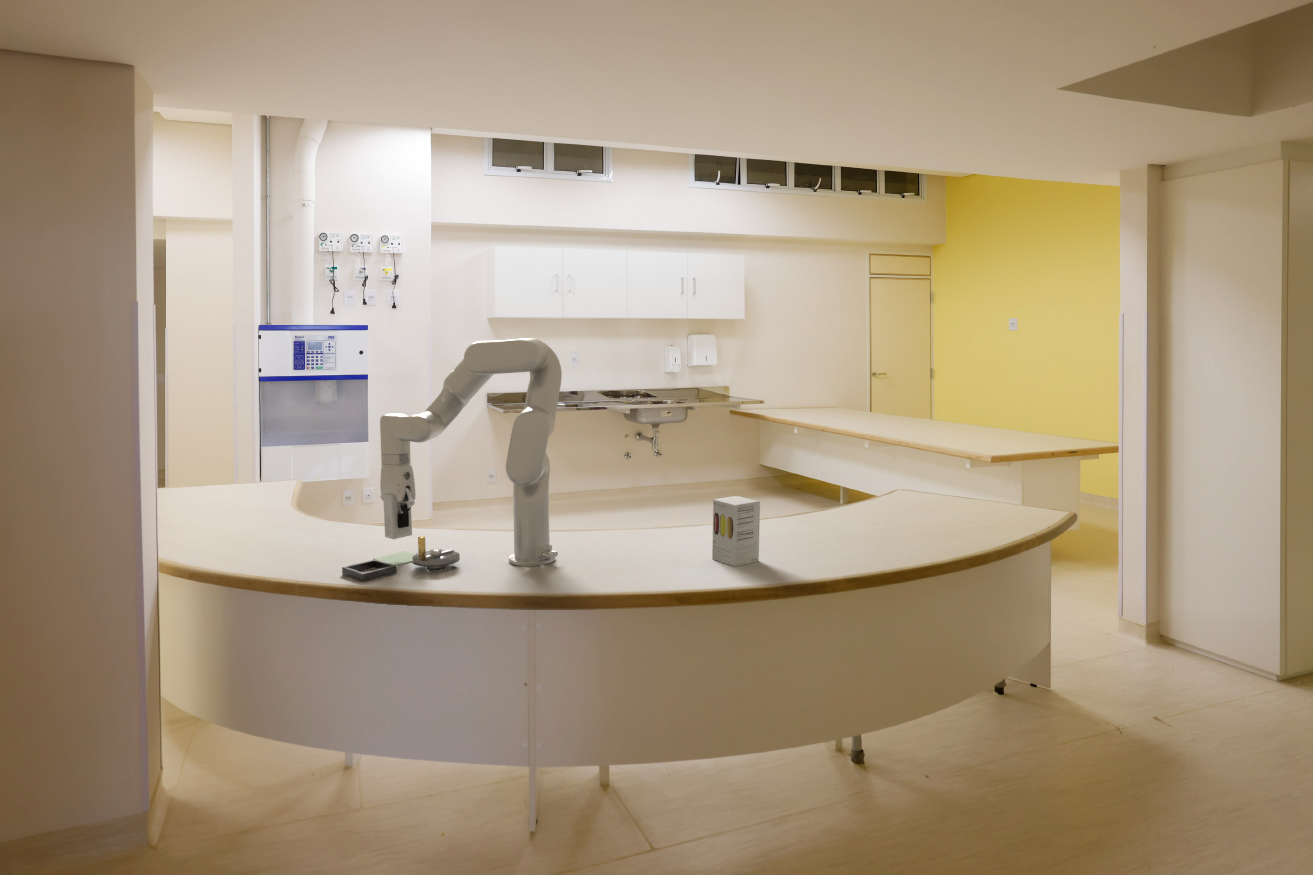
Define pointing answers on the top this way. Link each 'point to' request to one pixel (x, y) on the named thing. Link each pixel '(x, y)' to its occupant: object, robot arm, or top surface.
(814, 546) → the top surface
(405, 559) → the mat
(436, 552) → the handwheel
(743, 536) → the supplement box
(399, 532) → the skincare box
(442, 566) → the wheel post
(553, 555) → the robot arm
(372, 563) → the dark grey square tray
